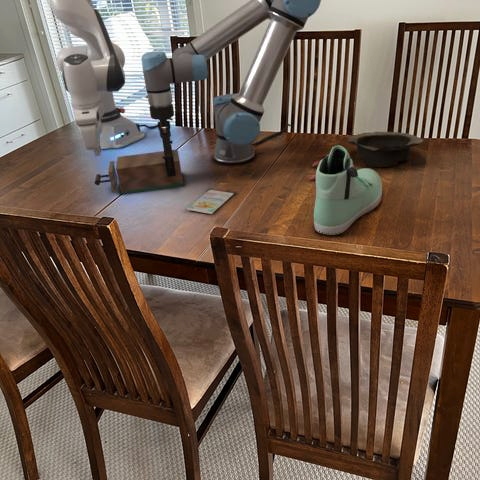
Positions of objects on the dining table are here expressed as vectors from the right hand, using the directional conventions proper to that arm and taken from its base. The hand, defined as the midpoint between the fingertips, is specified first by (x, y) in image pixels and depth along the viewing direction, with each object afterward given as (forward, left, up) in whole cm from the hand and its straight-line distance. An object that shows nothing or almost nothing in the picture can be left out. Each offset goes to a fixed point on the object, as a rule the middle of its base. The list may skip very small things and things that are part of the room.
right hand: (170, 169), depth 162 cm
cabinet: (+6, -3, -4) cm, 8 cm away
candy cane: (-40, +29, -4) cm, 50 cm away
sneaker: (-29, +54, -4) cm, 62 cm away
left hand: (+20, -9, +9) cm, 24 cm away
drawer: (+12, -5, -3) cm, 13 cm away
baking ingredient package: (-1, +23, -4) cm, 23 cm away
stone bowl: (-65, +35, -4) cm, 74 cm away
